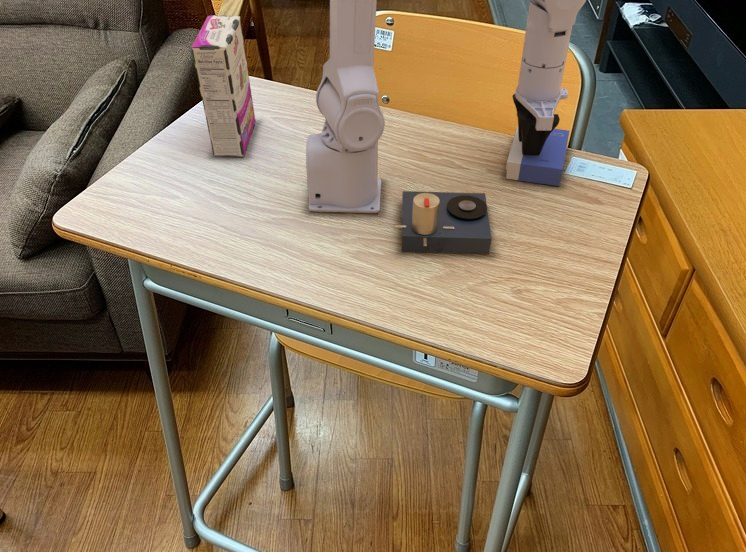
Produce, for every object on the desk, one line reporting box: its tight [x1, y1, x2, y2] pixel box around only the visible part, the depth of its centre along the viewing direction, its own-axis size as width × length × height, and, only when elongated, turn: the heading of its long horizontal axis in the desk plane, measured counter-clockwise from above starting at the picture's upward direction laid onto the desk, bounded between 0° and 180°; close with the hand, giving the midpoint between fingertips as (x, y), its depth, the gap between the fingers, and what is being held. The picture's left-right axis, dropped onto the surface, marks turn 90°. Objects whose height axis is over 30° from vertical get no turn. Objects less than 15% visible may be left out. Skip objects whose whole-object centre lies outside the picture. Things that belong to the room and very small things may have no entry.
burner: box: [447, 195, 488, 221], centre depth 85 cm, size 5×5×1 cm
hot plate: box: [394, 190, 492, 255], centre depth 85 cm, size 12×12×3 cm
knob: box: [412, 193, 440, 235], centre depth 81 cm, size 3×3×4 cm
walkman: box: [505, 125, 570, 187], centre depth 98 cm, size 8×3×12 cm
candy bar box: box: [190, 14, 257, 158], centre depth 96 cm, size 11×5×16 cm, turn 179°
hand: (528, 151), depth 97 cm, fingers closed on walkman, 3 cm apart
